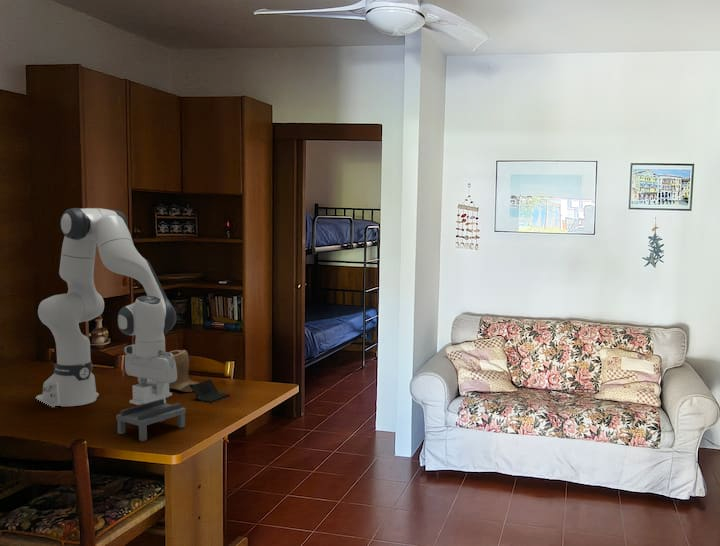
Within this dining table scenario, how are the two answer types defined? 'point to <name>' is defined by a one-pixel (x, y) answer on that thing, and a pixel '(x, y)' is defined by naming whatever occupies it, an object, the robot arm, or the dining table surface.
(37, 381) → the dining table surface
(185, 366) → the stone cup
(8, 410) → the dining table surface
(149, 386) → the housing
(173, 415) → the stand
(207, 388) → the dark grey angled bracket
